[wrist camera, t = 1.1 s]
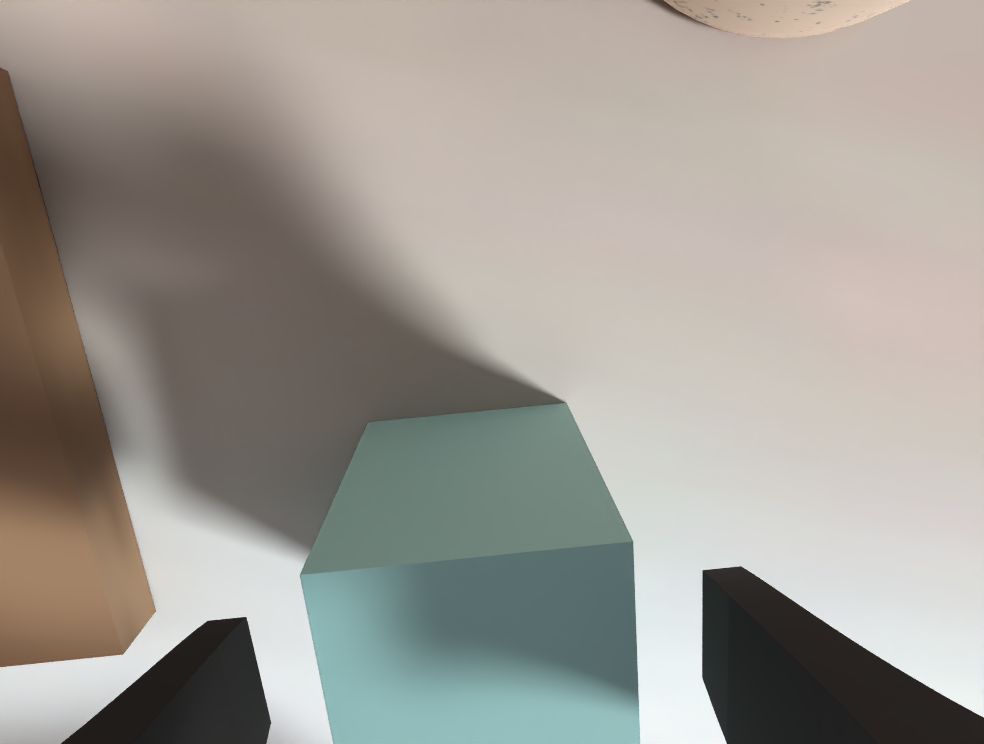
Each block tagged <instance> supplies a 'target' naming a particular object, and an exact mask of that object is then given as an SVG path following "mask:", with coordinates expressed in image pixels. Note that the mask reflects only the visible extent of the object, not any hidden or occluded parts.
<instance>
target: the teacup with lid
mask: <svg viewBox="0 0 984 744" xmlns="http://www.w3.org/2000/svg"><path fill="white" fill-rule="evenodd" d="M664 1H665V2H667V3H668V4H669V5H671V6H672V7H674V8H675V9H677V10H678V11H680V12H682V13H684V14H686V15H688V16H689V17H691V18H693V19H695V20H697V21H699V22H702V23H704V24H707V25H709V26H712V27H714V28H717V29H720V30H724V31H728V32H731V33H735V34H739V35H746V36H752V37H758V38H780V39H781V38H796V37H805V36H811V35H817V34H823V33H828V32H831V31H835V30H838V29H842V28H845V27H849V26H852V25H854V24H857V23H859V22H862V21H864V20H867V19H869V18H872V17H874V16H876V15H879V14H881V13H883V12H885V11H888V10H890V9H892V8H894V7H897V6H899V5H901V4H903V3H906V2H908V1H910V0H664Z"/></svg>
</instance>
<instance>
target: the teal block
mask: <svg viewBox="0 0 984 744" xmlns="http://www.w3.org/2000/svg"><path fill="white" fill-rule="evenodd" d="M300 578H301V584H302V589H303V594H304V599H305V604H306V609H307V614H308V619H309V624H310V629H311V634H312V639H313V644H314V649H315V654H316V659H317V664H318V669H319V674H320V679H321V684H322V689H323V694H324V699H325V704H326V709H327V714H328V719H329V724H330V729H331V734H332V739H333V744H640V728H639V699H638V670H637V641H636V612H635V583H634V554H633V540H632V538H631V536H630V534H629V532H628V530H627V528H626V526H625V524H624V521H623V519H622V517H621V515H620V513H619V511H618V509H617V507H616V505H615V503H614V501H613V499H612V497H611V494H610V492H609V490H608V488H607V486H606V484H605V482H604V480H603V478H602V476H601V474H600V472H599V469H598V467H597V465H596V463H595V461H594V459H593V457H592V455H591V453H590V451H589V449H588V447H587V445H586V442H585V440H584V438H583V436H582V434H581V432H580V430H579V428H578V426H577V424H576V422H575V420H574V418H573V415H572V413H571V411H570V409H569V407H568V405H567V403H556V404H546V405H536V406H526V407H516V408H506V409H496V410H486V411H476V412H465V413H455V414H445V415H435V416H425V417H415V418H405V419H395V420H385V421H375V422H368V423H367V425H366V428H365V430H364V432H363V434H362V437H361V439H360V441H359V443H358V446H357V448H356V450H355V452H354V455H353V457H352V459H351V461H350V464H349V466H348V468H347V470H346V473H345V475H344V477H343V479H342V482H341V484H340V486H339V488H338V491H337V493H336V495H335V497H334V500H333V502H332V504H331V506H330V509H329V511H328V513H327V515H326V517H325V520H324V522H323V524H322V526H321V529H320V531H319V533H318V535H317V538H316V540H315V542H314V544H313V547H312V549H311V551H310V553H309V556H308V558H307V560H306V562H305V565H304V567H303V569H302V571H301V574H300Z"/></svg>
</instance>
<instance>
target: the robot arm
mask: <svg viewBox="0 0 984 744" xmlns="http://www.w3.org/2000/svg"><path fill="white" fill-rule="evenodd" d="M702 678H703V681H704V683H705V686H706V689H707V692H708V695H709V697H710V700H711V703H712V706H713V708H714V711H715V714H716V716H717V719H718V722H719V724H720V727H721V729H722V732H723V735H724V737H725V740H726V742H727V744H984V718H983V717H982V716H980V715H978V714H976V713H974V712H972V711H970V710H968V709H967V708H965V707H963V706H961V705H959V704H957V703H956V702H954V701H952V700H950V699H948V698H947V697H945V696H943V695H941V694H940V693H938V692H936V691H935V690H933V689H931V688H929V687H928V686H926V685H924V684H923V683H921V682H919V681H918V680H916V679H914V678H912V677H911V676H909V675H907V674H906V673H904V672H902V671H901V670H899V669H897V668H895V667H894V666H892V665H891V664H889V663H887V662H886V661H884V660H882V659H881V658H879V657H878V656H876V655H874V654H873V653H871V652H870V651H868V650H866V649H865V648H863V647H862V646H860V645H859V644H857V643H855V642H854V641H852V640H851V639H849V638H848V637H846V636H845V635H843V634H842V633H840V632H839V631H837V630H835V629H834V628H832V627H831V626H829V625H828V624H826V623H825V622H823V621H822V620H820V619H819V618H817V617H816V616H814V615H813V614H811V613H810V612H809V611H807V610H806V609H804V608H803V607H801V606H800V605H798V604H797V603H795V602H794V601H792V600H791V599H789V598H788V597H786V596H785V595H784V594H782V593H781V592H779V591H778V590H776V589H775V588H773V587H772V586H770V585H769V584H767V583H766V582H764V581H763V580H761V579H760V578H758V577H757V576H755V575H754V574H752V573H751V572H749V571H748V570H746V569H744V568H743V567H741V566H740V567H731V568H721V569H711V570H703V628H702ZM270 725H271V720H270V716H269V712H268V708H267V703H266V699H265V695H264V690H263V686H262V682H261V678H260V673H259V669H258V665H257V660H256V656H255V652H254V648H253V643H252V639H251V635H250V630H249V626H248V622H247V618H246V617H241V618H231V619H222V620H212V621H207V622H206V623H204V624H203V625H202V626H200V627H199V628H198V629H196V630H195V631H194V632H193V633H191V634H190V635H189V636H188V637H187V638H185V639H184V640H183V641H182V642H181V643H179V644H178V645H177V646H176V647H175V648H174V649H172V650H171V651H170V652H169V653H168V654H167V655H165V656H164V657H163V658H162V659H161V660H160V661H158V662H157V663H156V664H155V665H154V666H153V667H151V668H150V669H149V670H148V671H147V672H146V673H145V674H143V675H142V676H141V677H140V678H139V679H138V680H136V681H135V682H134V683H133V684H132V685H131V686H129V687H128V688H127V689H126V690H125V691H124V692H122V693H121V694H120V695H119V696H118V697H117V698H115V699H114V700H113V701H112V702H111V703H109V704H108V705H107V706H106V707H105V708H104V709H102V710H101V711H100V712H99V713H98V714H97V715H95V716H94V717H93V718H92V719H91V720H90V721H88V722H87V723H86V724H85V725H84V726H82V727H81V728H80V729H79V730H77V731H76V732H75V733H74V734H72V735H71V736H70V737H69V738H67V739H66V740H65V741H64V742H62V743H61V744H266V742H267V738H268V734H269V729H270Z"/></svg>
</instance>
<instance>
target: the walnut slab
mask: <svg viewBox="0 0 984 744" xmlns="http://www.w3.org/2000/svg"><path fill="white" fill-rule="evenodd" d="M155 611H156V610H155V606H154V603H153V599H152V595H151V592H150V588H149V584H148V581H147V577H146V573H145V570H144V566H143V562H142V559H141V555H140V552H139V548H138V544H137V541H136V537H135V533H134V530H133V526H132V522H131V519H130V515H129V511H128V508H127V504H126V501H125V497H124V493H123V490H122V486H121V482H120V479H119V475H118V471H117V468H116V464H115V460H114V457H113V453H112V450H111V446H110V442H109V439H108V435H107V431H106V428H105V424H104V420H103V417H102V413H101V410H100V406H99V402H98V399H97V395H96V391H95V388H94V384H93V380H92V377H91V373H90V369H89V366H88V362H87V359H86V355H85V351H84V348H83V344H82V340H81V337H80V333H79V329H78V326H77V322H76V318H75V315H74V311H73V308H72V304H71V300H70V297H69V293H68V289H67V286H66V282H65V278H64V275H63V271H62V267H61V264H60V260H59V257H58V253H57V249H56V246H55V242H54V238H53V235H52V231H51V227H50V224H49V220H48V217H47V213H46V209H45V206H44V202H43V198H42V195H41V191H40V187H39V184H38V180H37V176H36V173H35V169H34V166H33V162H32V158H31V155H30V151H29V147H28V144H27V140H26V136H25V133H24V129H23V125H22V122H21V118H20V115H19V111H18V107H17V104H16V100H15V96H14V93H13V89H12V85H11V82H10V78H9V74H8V71H5V70H1V69H0V667H6V666H15V665H25V664H35V663H44V662H54V661H64V660H74V659H83V658H93V657H103V656H112V655H122V654H124V653H125V651H126V650H127V649H128V647H129V646H130V645H131V643H132V642H133V641H134V639H135V638H136V637H137V635H138V634H139V633H140V631H141V630H142V629H143V627H144V626H145V625H146V623H147V622H148V621H149V619H150V618H151V617H152V615H153V614H154V613H155Z"/></svg>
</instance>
